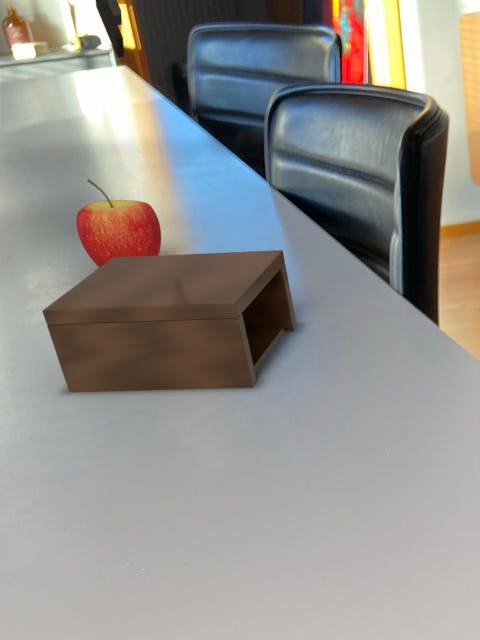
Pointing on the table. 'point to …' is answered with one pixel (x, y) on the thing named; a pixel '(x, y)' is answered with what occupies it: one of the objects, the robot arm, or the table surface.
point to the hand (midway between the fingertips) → (56, 57)
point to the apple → (118, 229)
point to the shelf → (172, 322)
